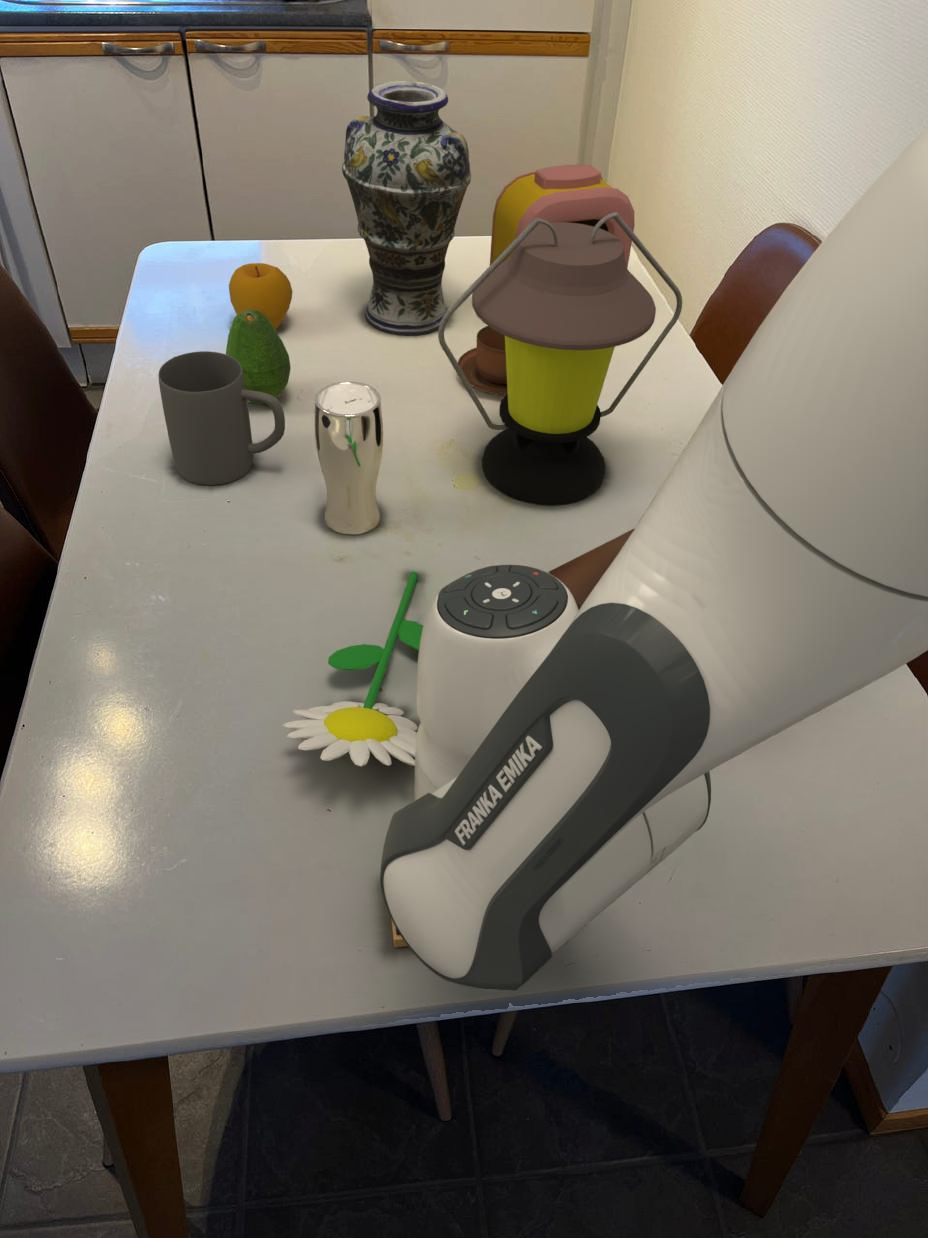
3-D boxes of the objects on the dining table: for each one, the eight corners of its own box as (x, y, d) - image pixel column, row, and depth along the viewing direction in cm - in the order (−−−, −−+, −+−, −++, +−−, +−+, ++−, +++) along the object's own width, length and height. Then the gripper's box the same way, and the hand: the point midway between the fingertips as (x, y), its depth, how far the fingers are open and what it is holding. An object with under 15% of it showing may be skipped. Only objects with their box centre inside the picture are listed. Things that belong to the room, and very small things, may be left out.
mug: (161, 480, 110) (142, 386, 102) (192, 437, 117) (177, 345, 108) (276, 498, 109) (266, 404, 100) (301, 453, 115) (294, 362, 107)
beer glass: (312, 531, 105) (302, 410, 94) (332, 494, 110) (325, 375, 99) (374, 542, 104) (371, 421, 93) (391, 504, 109) (391, 386, 98)
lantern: (650, 438, 121) (702, 191, 100) (648, 531, 107) (707, 268, 87) (455, 414, 123) (466, 167, 102) (428, 502, 109) (435, 238, 89)
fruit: (217, 402, 122) (204, 313, 114) (259, 377, 127) (250, 290, 119) (264, 423, 119) (254, 333, 111) (306, 397, 124) (299, 308, 116)
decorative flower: (352, 586, 102) (263, 790, 77) (355, 547, 99) (263, 747, 75) (471, 608, 101) (418, 822, 77) (477, 570, 98) (424, 779, 74)
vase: (369, 282, 149) (364, 65, 129) (477, 300, 147) (489, 81, 126) (330, 330, 138) (318, 100, 117) (447, 351, 135) (455, 118, 114)
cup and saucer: (470, 351, 135) (472, 309, 131) (554, 366, 133) (559, 324, 129) (446, 393, 127) (447, 349, 122) (535, 409, 125) (540, 366, 120)
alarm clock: (512, 328, 141) (523, 191, 127) (483, 295, 148) (491, 162, 135) (624, 311, 146) (646, 178, 133) (591, 281, 153) (609, 151, 140)
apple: (296, 313, 141) (292, 253, 135) (292, 341, 135) (287, 280, 129) (237, 312, 140) (230, 252, 134) (230, 340, 134) (222, 279, 128)
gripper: (567, 920, 55) (542, 1026, 64) (505, 660, 69) (492, 778, 79) (456, 932, 54) (448, 1037, 63) (417, 666, 69) (415, 785, 78)
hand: (472, 892), depth 71 cm, fingers closed on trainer, 4 cm apart
